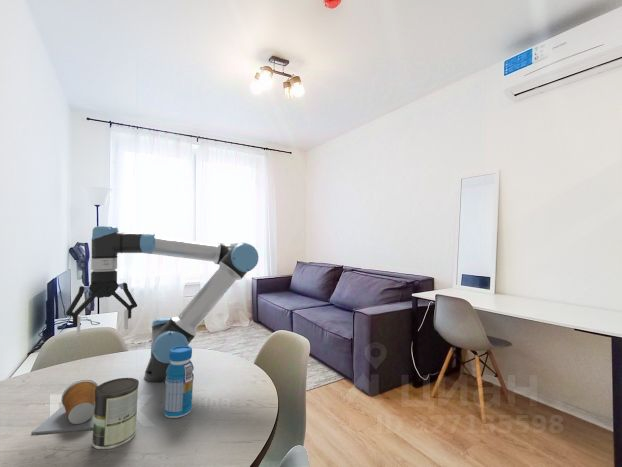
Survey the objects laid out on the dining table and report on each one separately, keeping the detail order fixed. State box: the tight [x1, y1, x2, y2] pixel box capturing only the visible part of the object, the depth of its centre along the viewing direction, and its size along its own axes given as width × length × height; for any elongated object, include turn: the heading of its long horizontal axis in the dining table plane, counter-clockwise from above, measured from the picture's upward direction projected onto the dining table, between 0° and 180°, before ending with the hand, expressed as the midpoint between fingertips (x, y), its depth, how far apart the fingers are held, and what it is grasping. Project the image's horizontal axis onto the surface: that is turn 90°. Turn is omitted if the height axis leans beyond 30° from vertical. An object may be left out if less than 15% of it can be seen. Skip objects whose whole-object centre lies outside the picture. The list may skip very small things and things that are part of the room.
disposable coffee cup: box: [61, 378, 99, 424], centre depth 92 cm, size 10×10×12 cm
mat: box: [31, 405, 94, 436], centre depth 94 cm, size 18×18×1 cm
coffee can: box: [91, 377, 140, 450], centre depth 83 cm, size 10×10×14 cm
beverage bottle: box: [163, 345, 195, 419], centre depth 97 cm, size 8×8×20 cm
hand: (103, 331), depth 103 cm, fingers open, 13 cm apart
